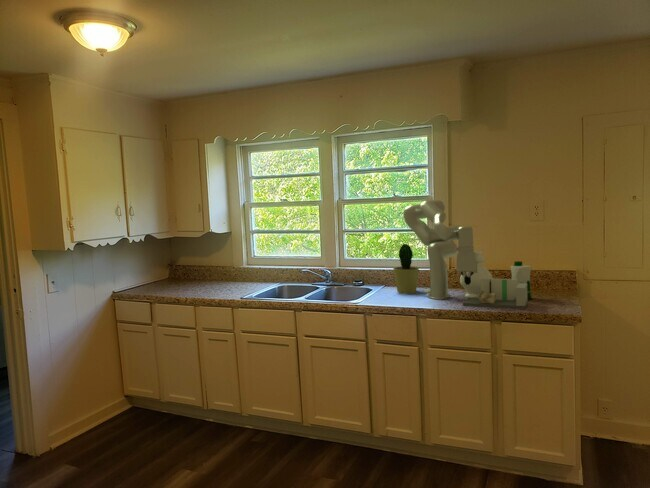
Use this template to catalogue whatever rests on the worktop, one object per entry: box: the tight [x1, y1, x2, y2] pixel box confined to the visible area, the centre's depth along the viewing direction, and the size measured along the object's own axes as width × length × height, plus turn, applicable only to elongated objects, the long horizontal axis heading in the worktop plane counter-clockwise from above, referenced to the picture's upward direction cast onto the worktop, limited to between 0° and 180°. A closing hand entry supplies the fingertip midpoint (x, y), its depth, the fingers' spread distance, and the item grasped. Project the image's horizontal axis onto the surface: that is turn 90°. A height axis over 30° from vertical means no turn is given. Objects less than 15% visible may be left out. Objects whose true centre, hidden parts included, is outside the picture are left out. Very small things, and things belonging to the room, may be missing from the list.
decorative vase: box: [459, 250, 494, 298], centre depth 277 cm, size 18×18×25 cm
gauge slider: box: [479, 282, 496, 303], centre depth 256 cm, size 7×10×9 cm
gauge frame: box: [462, 278, 528, 310], centre depth 254 cm, size 30×13×12 cm, turn 62°
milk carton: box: [509, 260, 533, 301], centre depth 264 cm, size 9×9×20 cm
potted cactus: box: [392, 243, 419, 295], centre depth 298 cm, size 15×15×30 cm
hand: (467, 284), depth 258 cm, fingers closed
